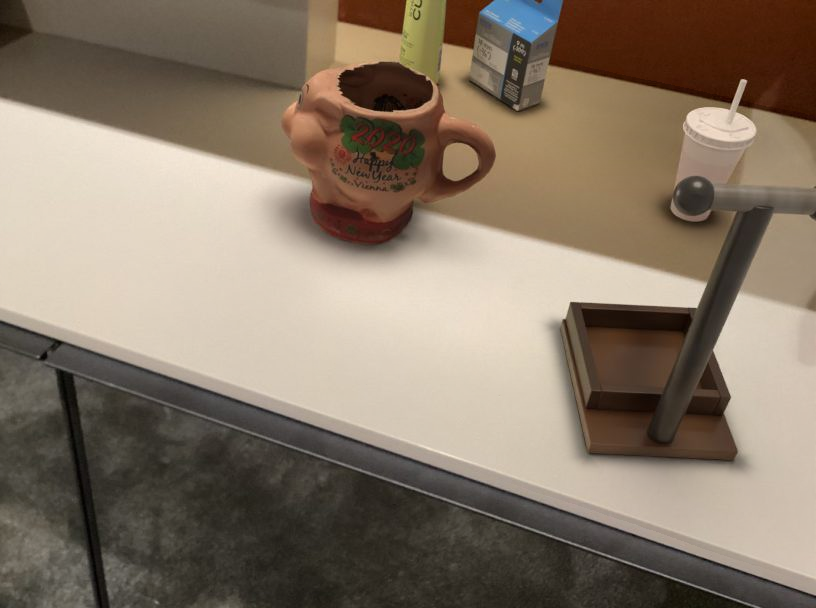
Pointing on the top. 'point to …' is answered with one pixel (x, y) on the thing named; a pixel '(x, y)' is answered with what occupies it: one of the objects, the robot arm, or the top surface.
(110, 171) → the top surface
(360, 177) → the pink novelty mug
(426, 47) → the tube
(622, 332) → the jewelry holder
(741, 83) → the smoothie
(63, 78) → the top surface
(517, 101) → the blue grey carton
